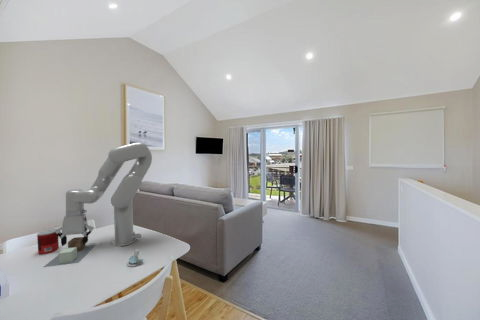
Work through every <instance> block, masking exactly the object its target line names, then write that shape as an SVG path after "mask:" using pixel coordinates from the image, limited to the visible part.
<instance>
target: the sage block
mask: <svg viewBox="0 0 480 320" xmlns="http://www.w3.org/2000/svg"><path fill="white" fill-rule="evenodd" d="M58 255H59V264H61V263H69V262H72V261H73V260H74V259H76V258H77V247H73V248H68V247H66V248H63V249H62V250H61V251H60V252H58Z"/></svg>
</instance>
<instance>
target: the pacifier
mask: <svg viewBox="0 0 480 320" xmlns="http://www.w3.org/2000/svg"><path fill="white" fill-rule="evenodd" d="M139 254H140V251H139V250H138V249H135V250H134V251H133V255H131V256H130V257H129V259H128V261H127V262H126V266H127V267H132V268H133V267H137V266H138V265H139V264H140V262H142V261H143V260H144V259H143V258H140V257H139Z"/></svg>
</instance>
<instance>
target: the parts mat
mask: <svg viewBox="0 0 480 320" xmlns="http://www.w3.org/2000/svg"><path fill="white" fill-rule="evenodd" d="M97 245H98V243H97V244H87V245H86V246H85V247H84V248H83V249H82V250H81V251H77V258H76V259H74V260H73V261H72V262H69V263H61V264H59V254H58V255H57V256H55V257H54V258H52V260H50V261H49V262H48V263H46V264H45V265H43V268H48V267H58V266H63V265H71V264H72V265H73V264H78V263H80V262H81V261H82V260H83V259H84V258H85V257H86V256H87V255H88V254H89V253H90V252H91V251H92V250H93V249H94V248H95V247H96V246H97Z"/></svg>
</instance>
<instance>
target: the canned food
mask: <svg viewBox="0 0 480 320" xmlns="http://www.w3.org/2000/svg"><path fill="white" fill-rule="evenodd" d="M57 229H58V228H50V229H46V230H45V229H44V230H41V231H39V232H38V233H37V235H36V238H37V253H38V255H47V254H48V255H49V254H51V253H54V252H56V251H58V250H59V247H60V245H59V236H58V235H57V233H56V232H55V230H57Z"/></svg>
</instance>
